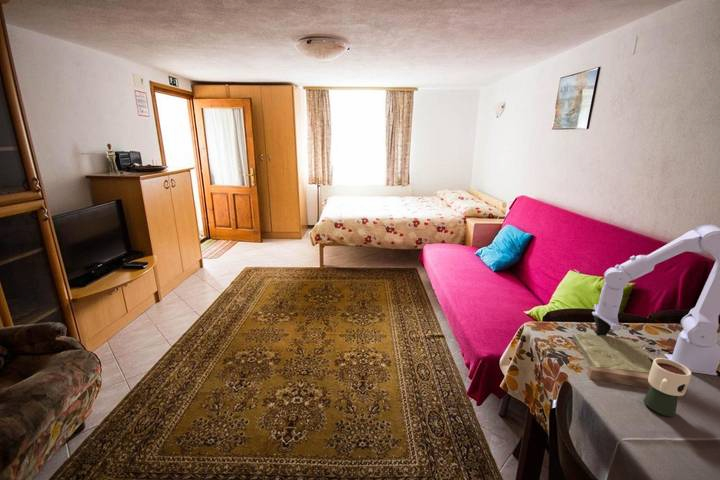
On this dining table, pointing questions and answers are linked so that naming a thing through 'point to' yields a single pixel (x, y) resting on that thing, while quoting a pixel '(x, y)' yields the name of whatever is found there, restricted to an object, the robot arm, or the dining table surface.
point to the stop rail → (618, 376)
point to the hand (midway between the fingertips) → (600, 337)
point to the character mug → (666, 385)
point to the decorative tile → (613, 353)
